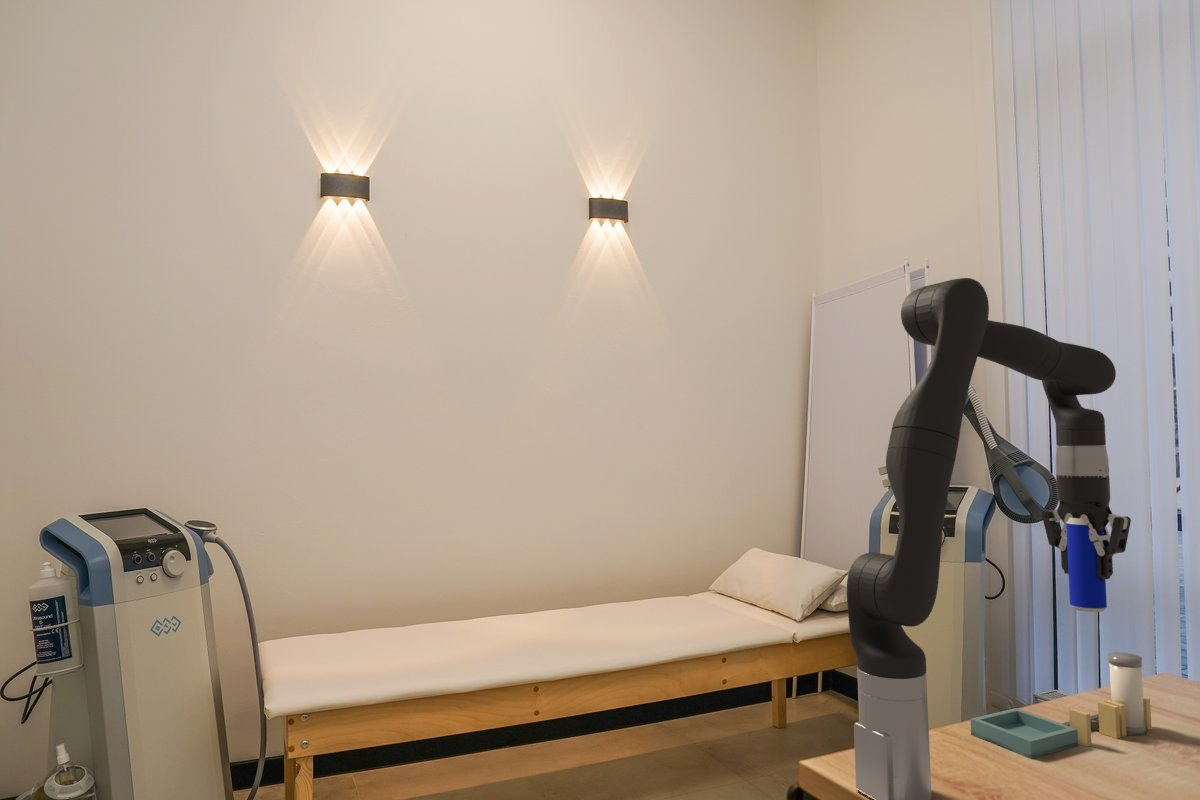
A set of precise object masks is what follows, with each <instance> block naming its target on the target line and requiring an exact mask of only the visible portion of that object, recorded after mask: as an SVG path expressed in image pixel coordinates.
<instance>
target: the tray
mask: <svg viewBox="0 0 1200 800" xmlns="http://www.w3.org/2000/svg"><path fill="white" fill-rule="evenodd" d="M1061 723H1062V722H1061ZM1061 723H1060V722H1058V721H1055V720H1052V719H1049V718H1046V717H1043V716H1040V715H1037V714H1034V713H1032V712H1029V711H1025V710H1023V709H1020V708H1018V707H1016V708H1011V709H1007V710H1002V711H998V712H993V713H989V714H985V715H982V716H981V715H980V716H977V717H972V718H970V734H971V736H974V737H976V738H979V739H982V740H984V741H986V742H989V743H991V744H994V745H995V746H996V745H997V746H998V747H1001V748H1004V749H1006V750H1008V751H1011V752H1014V753H1016V754H1018V755H1021V756H1023V757H1025V758H1028V759H1034V758H1039V757H1042V756H1045V755H1050V754H1053V753H1054V754H1055V753H1057V752H1060V751H1063V750H1067V749H1070V748H1076V747H1079V743H1078V730H1077V729H1075V728H1073V727H1070V726H1067V725H1064V724H1061Z"/></svg>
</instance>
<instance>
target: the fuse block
mask: <svg viewBox="0 0 1200 800" xmlns="http://www.w3.org/2000/svg"><path fill="white" fill-rule="evenodd" d="M1143 705H1144V723H1145V728H1146V730H1147V731H1149V730H1152V712H1151V698H1149V697H1146V696H1143ZM1097 709H1098V710H1097V711H1098V714H1093V715H1091V713H1088V712H1085V711H1083V710H1079V709H1076V708H1070V709H1068V713H1069V717H1068V718H1069V721H1065V722H1061V724H1064V725H1067V726H1070V727H1073V728H1075V729H1077V730H1078V745H1080V746H1081V745H1082V746H1085V747H1091V746H1092V745H1093V743H1092V732H1093V731H1094V732H1097V731H1099V734H1102V735H1104V736H1107V737H1111V738H1113V739H1120V738H1121V737H1122V738H1124V737H1126V736H1127V735H1128V734H1126V715H1125V705H1123V704H1120V703H1117V702H1113V701H1111V700H1110V699H1107V700H1103V701H1102V700H1101V701H1098V702H1097Z"/></svg>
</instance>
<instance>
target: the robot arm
mask: <svg viewBox="0 0 1200 800" xmlns="http://www.w3.org/2000/svg"><path fill="white" fill-rule="evenodd" d="M989 304H990V303H989V298H988V294H987V292H986V289H985V288H984V286H983V285H982V284H981V282H979V281H977V280H976V279H974V278H970V277H962V278H961V277H960V278H955V279H949V280H945V281H941V282H937V283H932V284H929V285H926V286H921V287H920V288H917V289H915V290H913V291H911V292H910V293H909V294H908V295H907V296H906V297H905V299H904V300H903V302H902V304H901V309H900V319H901V323H902V327H903V328H904V330H905V332H906V333H907V335H909V337H911V339H912V340H914V341H916V342H918V343H921V344H923V345H929V346H934V350H933V355H932V358H931V359H930V362H929V365H928V367H927V368H926V371H925V373H924V374H923V375H922V376H921V378H920V380H919V381H918V382H917V384H915V386H914V387H913V389H912V390H911V392H910V393H909V394H908V396H907V397H906V398H905V400H904V402H902V404H901V406H900V407H899V409H898V411H897V413H896V415H895V417H894V420H893V423H892V426H891V431H890V436H889V440H888V445H887V450H886V456H885V467H886V472H887V473H886V474H887V477H888V480H889V484H890V487H891V490H892V493H893V496H894V500H895V502H896V507H897V511H898V517H899V519H898V520H899V522H898V534H897V539H896V540H897V541H896V546H895V551H894V554H885V553H880V552H867V553H863V554H860V556H858V557H857V558H856V559H855V560H854V561H853V563H852V564H851V566H850V569H849V571H848V575H847V579H846V604H847V605H846V606H847V616H848V618H847V619H848V626H849V627H848V629H849V637H850V643H851V647H852V649H853V651H854V653H855V656H856V664H857V666H856V668H857V669H856V671H857V697H858V721H856V722H854V724H853V738H854V739H853V742H854V767H855V789H856V788H858V789H859V790H862V791H863V792H865V793H866V794H868V795H870V796H872V797H873V798H875V799H876V800H932V796H933V794H932V775H931V754H930V750H931V749H930V748H931V747H930V730H929V728H930V727H929V723H930V722H929V704H928V681H927V680H928V678H927V677H928V676H927V657H926V653H925V652H924V650H923V649H922V647H920V646H919V645H918V644H917V643H916V642H914V641H913V640H912V639H911V638H910V636H908V635H907V633H906V631H905V630H904V628H903V626H904V627H908V628H909V627H911V628H912V627H913V628H914V627H916V626H920V625H921V624H923V623H924V622H925V621H926V620H927V619H928V618H929V617H930V615H931V613H932V612H933V608H934V605H935V603H936V599H937V594H938V590H939V589H938V588H939V579H940V569H941V568H940V567H941V553H942V542H943V532H944V531H943V530H944V522H945V515H946V509H947V503H948V497H949V490H950V485H951V481H952V477H953V476H952V475H953V472H954V467H955V462H956V457H957V454H958V453H957V452H958V447H959V441H960V436H961V435H960V433H961V428H962V422H963V417H964V413H965V412H964V411H965V407H966V404H967V399H968V393H969V390H970V385H971V381H972V377H973V373H974V371H975V366H976V363H977V360H978V358H980V359H984V360H987V361H991V362H993V363H995V364H998V365H1001V366H1003V367H1005V368H1008V369H1010V370H1013V371H1015V372H1017V373H1020V374H1022V375H1024V376H1027V377H1029V378H1031V379H1034V380H1037V381H1041V384H1042V387H1043V391H1044V393H1045V395H1046V399H1047V401H1048V404H1049V407H1050V410H1051V413H1052V415H1053V419H1054V422H1055V440H1056V441H1055V443H1056V450H1055V474H1056V475H1055V479H1056V481H1055V482H1056V497H1057V498H1056V499H1057V501H1059V505H1058V507H1057V509H1055V510H1053V509H1052V510H1043V511H1042V512H1041V517H1042V518H1041V519H1042V521H1043V525H1044V530H1045V534H1046V537H1047V541H1048V545H1050V546H1051V547H1056V548H1057V549H1058V550H1059V551H1060V560H1061V566H1060V567H1061V568H1062V570H1063V572H1064V574H1067V575H1069V574H1068V553H1067V529H1066V522H1067V521H1068V520H1069V518H1081V519H1083V520H1084V522H1085V523H1086V524H1088V525H1089V528H1090V530H1089V538H1090V541H1091V542H1092V543H1094V546H1095V548H1096V551H1097V553H1098V555H1099V556H1096V558H1097V577H1098V579H1102V580H1110V578H1111V577H1112V576H1113V573H1114V567H1113V566H1114V565H1113V557H1114V555H1117V554H1121V553H1122V554H1123V553H1125V551H1126V550H1127V549H1126V548H1127V543H1128V539H1129V538H1128V537H1129V532H1130V528H1131V522H1132V520H1131V517H1129V516H1124V515H1123V516H1121V515H1117V514H1113V512H1112V509H1111V508H1110V501H1111V486H1110V485H1111V484H1110V463H1109V455H1108V452H1107V443H1106V422H1105V420H1106V419H1105V417H1104V415H1103V413H1102V412H1101V411H1099V410H1096V409H1091V408H1085V407H1083V406H1082V405H1081V403H1080V401H1079V399H1078V397H1077V396H1087V395H1097V394H1101V393H1104V392H1106V391H1108V390H1109V389H1110V388H1111V387H1112V386H1113V384H1114V383H1115V381H1116V376H1117V371H1116V367H1115V365H1114V363H1113V361H1112V360H1111V358H1109V357H1108V356H1107V355H1106V354H1105V353H1103V351H1102V352H1101V351H1099V350H1097V349H1094V348H1092V347H1088V346H1083V345H1078V344H1075V343H1069V342H1068V343H1067V342H1062V341H1060V340H1059V341H1058V340H1057V339H1055V338H1053V337H1050V336H1049V335H1046V334H1045V333H1042V332H1040V331H1037V330H1035V329H1033V328H1031V327H1027V326H1023V325H1017V324H1014V323H1013V324H1012V323H1008V322H1007V323H1006V322H1001V321H994V320H989V315H990V314H989V313H990V309H989V308H990V305H989ZM1061 522H1063V526H1062V525H1061ZM1108 524H1109V527H1110V528H1111V532H1110V533H1109V530H1108V527H1107V525H1108ZM1061 526H1062V527H1061ZM1100 531H1101V532H1102V531H1103V536H1099V535H1098V534H1097V532H1100ZM1102 541H1103V542H1102Z"/></svg>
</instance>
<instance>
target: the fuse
mask: <svg viewBox="0 0 1200 800" xmlns="http://www.w3.org/2000/svg"><path fill="white" fill-rule="evenodd" d="M1107 656H1108V657H1107V658H1108V664H1109V665H1108V666H1109V682H1110V683H1109V684H1110V699H1111V700H1110V701H1113V702H1117V703H1120V704H1123V705H1125V715H1126V734H1127V735H1128V736H1129V735H1130V736H1144V735H1146V728H1145V723H1144V705H1143V697H1144V691H1143V690H1144V689H1143V672H1142V671H1143V670H1142V666H1143V658H1142V657H1141V656H1140V655H1137V654H1133V653H1127V652H1109V653H1108V654H1107Z"/></svg>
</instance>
